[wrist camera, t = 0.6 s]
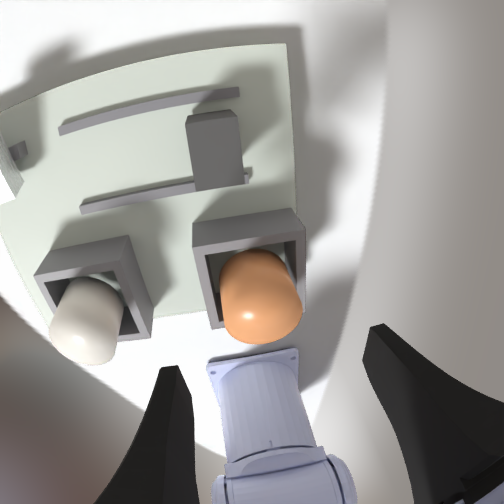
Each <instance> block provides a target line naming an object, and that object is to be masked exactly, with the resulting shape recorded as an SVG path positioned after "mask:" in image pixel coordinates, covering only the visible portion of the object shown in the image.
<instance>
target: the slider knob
mask: <svg viewBox="0 0 504 504" xmlns="http://www.w3.org/2000/svg"><path fill="white" fill-rule="evenodd" d="M185 129H186V135H187V141H188V148H189V154H190V160H191V166H192V172H193V178H194V183H195V189H196V192H199V191H205V190H211V189H218V188H224V187H230V186H237V185H244V184H245V177H244V167H243V158H242V149H241V140H240V131H239V122H238V116H237V115H236V114H235V113H234V112H233V111H232V110H231V109H228V110H220V111H213V112H207V113H200V114H194V115H188V116H187V119H186V122H185Z"/></svg>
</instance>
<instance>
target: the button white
mask: <svg viewBox="0 0 504 504" xmlns="http://www.w3.org/2000/svg"><path fill="white" fill-rule="evenodd" d="M123 311H124V305H123V301H122V298H121V296H120V295H119V293H118V292H117V291H116V290H115V289H114V288H113V287H112V286H111V285H109V284H108V283H106V282H104V281H102V280H100V279H97V278H93V277H81V278H77V279H75V280H73V281H72V282H70V283H69V285H68V286H67V288H66V290H65V292H64V294H63V296H62V298H61V300H60V303H59V305H58V307H57V309H56V312H55V314H54V316H53V319H52V321H51V323H50V326H49V337H50V340H51V342H52V344H53V345H54V346H55V348H56V349H57V350H58V351H59V352H60V353H61V354H63V355H64V356H65V357H67V358H69V359H70V360H72V361H75V362H77V363H80V364H85V365H101V364H104V363H107V362H109V361H110V360H111V359H112V358H113V356H114V354H115V350H116V345H117V340H118V335H119V330H120V325H121V321H122V316H123Z"/></svg>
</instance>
